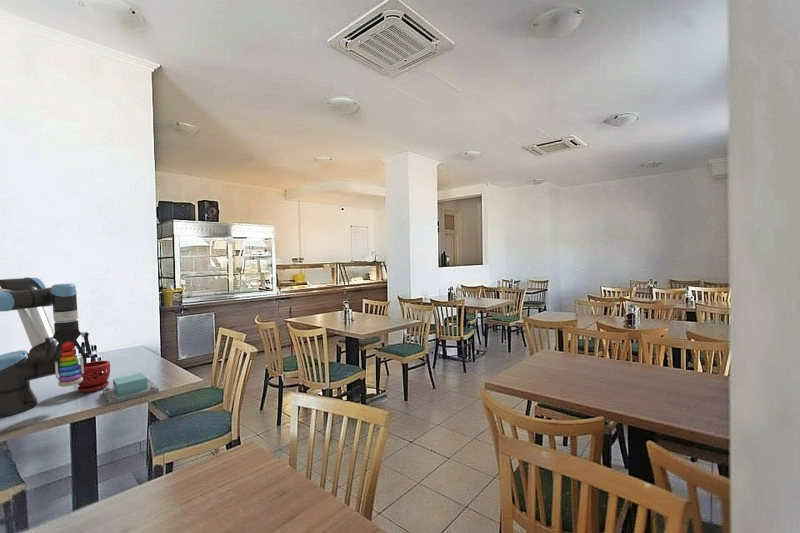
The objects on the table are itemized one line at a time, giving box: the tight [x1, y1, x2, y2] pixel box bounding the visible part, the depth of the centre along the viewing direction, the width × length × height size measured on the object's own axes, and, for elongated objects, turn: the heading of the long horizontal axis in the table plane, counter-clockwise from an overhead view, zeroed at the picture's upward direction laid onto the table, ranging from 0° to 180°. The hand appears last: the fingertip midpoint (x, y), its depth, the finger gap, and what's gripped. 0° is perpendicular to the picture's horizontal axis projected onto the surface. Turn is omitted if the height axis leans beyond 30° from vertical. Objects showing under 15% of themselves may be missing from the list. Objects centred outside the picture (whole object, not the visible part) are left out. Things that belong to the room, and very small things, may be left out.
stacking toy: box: [57, 341, 83, 388], centre depth 156 cm, size 8×8×19 cm
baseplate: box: [102, 372, 160, 405], centre depth 170 cm, size 18×18×6 cm
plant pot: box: [77, 360, 111, 393], centre depth 177 cm, size 13×13×12 cm
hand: (70, 375), depth 156 cm, fingers closed on stacking toy, 7 cm apart
